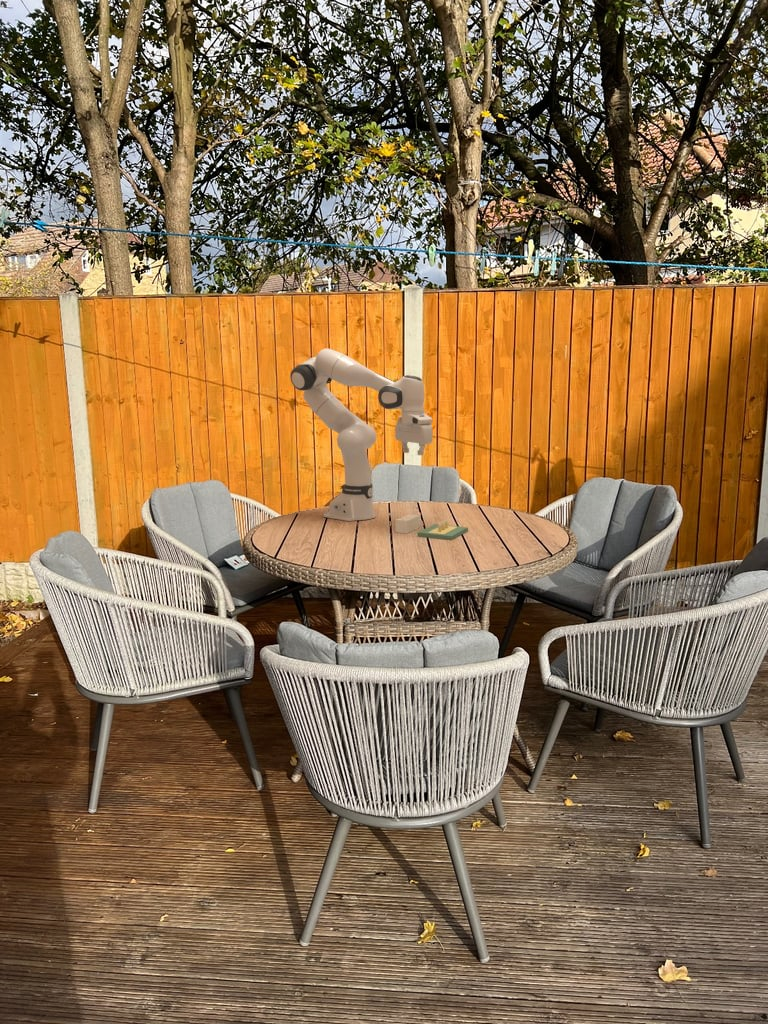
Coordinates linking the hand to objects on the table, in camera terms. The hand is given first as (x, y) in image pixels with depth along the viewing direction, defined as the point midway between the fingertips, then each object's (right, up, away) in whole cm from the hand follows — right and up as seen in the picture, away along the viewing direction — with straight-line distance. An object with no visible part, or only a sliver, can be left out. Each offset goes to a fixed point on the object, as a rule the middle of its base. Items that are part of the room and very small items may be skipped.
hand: (413, 453), depth 296 cm
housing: (-2, -30, +2) cm, 30 cm away
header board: (+11, -31, -5) cm, 33 cm away
